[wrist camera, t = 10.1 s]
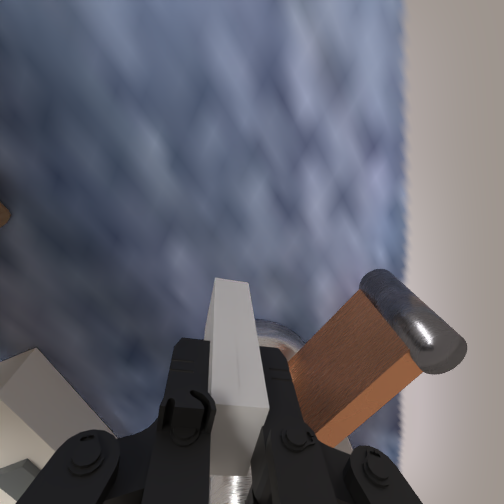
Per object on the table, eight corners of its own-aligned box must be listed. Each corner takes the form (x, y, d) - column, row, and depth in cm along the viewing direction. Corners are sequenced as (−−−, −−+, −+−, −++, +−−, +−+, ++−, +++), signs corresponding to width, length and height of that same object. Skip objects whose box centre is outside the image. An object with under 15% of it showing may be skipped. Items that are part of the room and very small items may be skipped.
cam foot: (249, 443, 26) (261, 593, 18) (148, 397, 23) (106, 550, 15) (412, 288, 21) (531, 393, 13) (311, 205, 18) (381, 273, 10)
